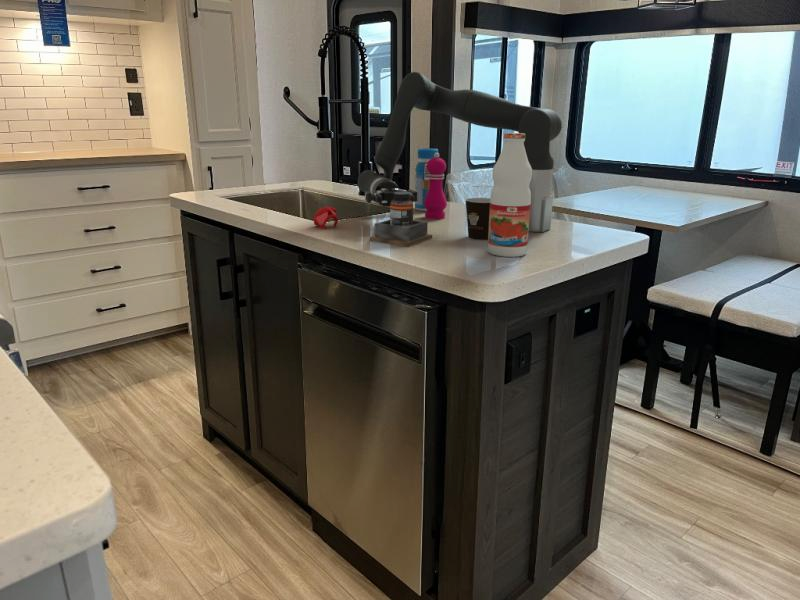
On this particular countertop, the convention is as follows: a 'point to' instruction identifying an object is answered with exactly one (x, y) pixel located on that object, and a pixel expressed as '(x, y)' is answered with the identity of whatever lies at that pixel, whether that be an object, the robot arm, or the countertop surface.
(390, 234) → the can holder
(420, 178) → the beverage bottle
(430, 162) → the pepper mill
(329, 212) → the red toy crab
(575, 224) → the countertop surface
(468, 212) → the coffee mug
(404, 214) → the supplement bottle
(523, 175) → the fruit juice
